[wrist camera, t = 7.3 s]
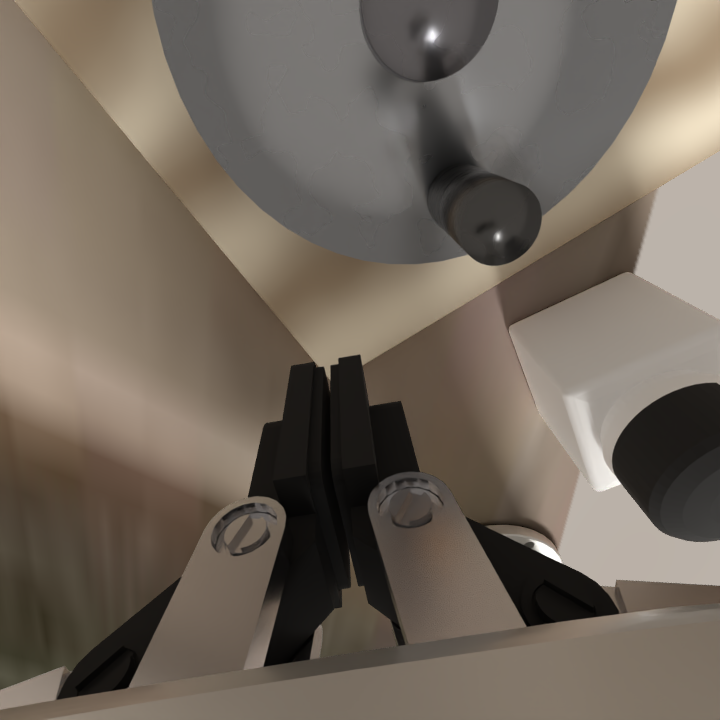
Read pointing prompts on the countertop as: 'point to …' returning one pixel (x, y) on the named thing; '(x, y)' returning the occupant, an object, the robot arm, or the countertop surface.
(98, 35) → the base board
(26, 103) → the countertop surface
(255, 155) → the flange plate
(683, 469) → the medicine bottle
